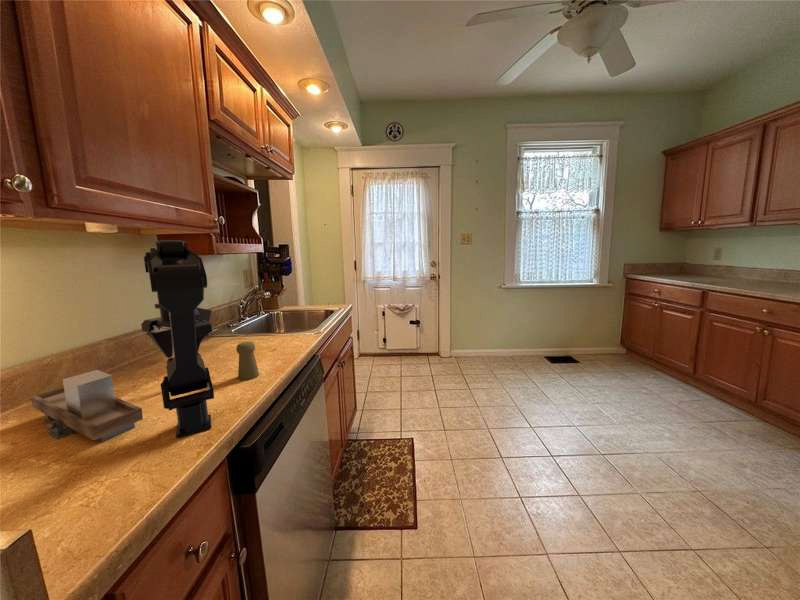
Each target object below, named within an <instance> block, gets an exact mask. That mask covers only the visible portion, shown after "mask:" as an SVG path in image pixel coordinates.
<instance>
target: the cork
mask: <svg viewBox="0 0 800 600" xmlns="http://www.w3.org/2000/svg"><path fill="white" fill-rule="evenodd" d="M255 351H256V345H255V343H254V342H252V341H243V342H239V343H238V344H237V345H236V353H237V354H238V370H237V371H238V374H237V376H238V377H237V378H238V380H239V381H250V380H255V379H256V378H258V377H259V376H260V371H259V368H258V365H257V361H256V360H257V359H256V357H255Z"/></svg>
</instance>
